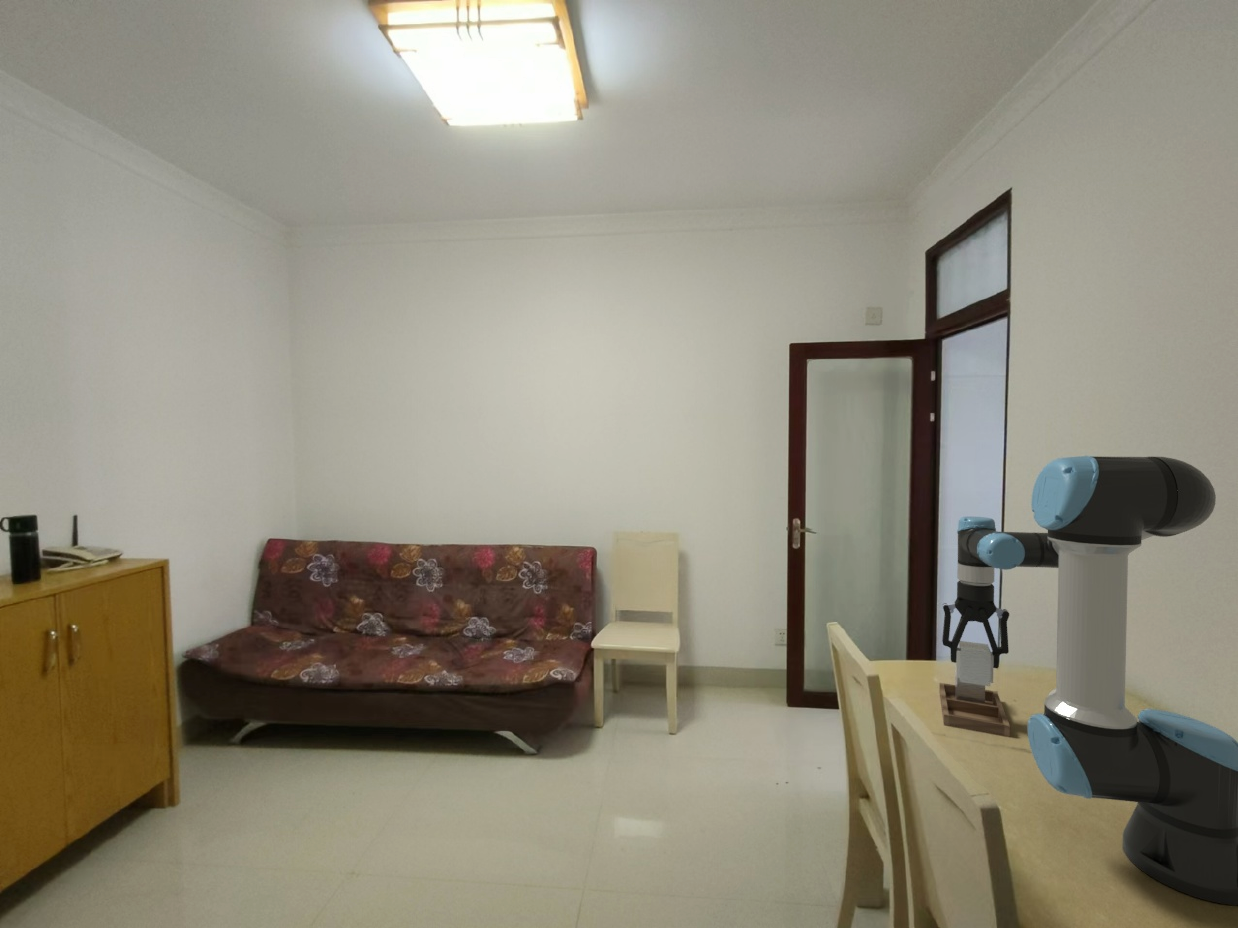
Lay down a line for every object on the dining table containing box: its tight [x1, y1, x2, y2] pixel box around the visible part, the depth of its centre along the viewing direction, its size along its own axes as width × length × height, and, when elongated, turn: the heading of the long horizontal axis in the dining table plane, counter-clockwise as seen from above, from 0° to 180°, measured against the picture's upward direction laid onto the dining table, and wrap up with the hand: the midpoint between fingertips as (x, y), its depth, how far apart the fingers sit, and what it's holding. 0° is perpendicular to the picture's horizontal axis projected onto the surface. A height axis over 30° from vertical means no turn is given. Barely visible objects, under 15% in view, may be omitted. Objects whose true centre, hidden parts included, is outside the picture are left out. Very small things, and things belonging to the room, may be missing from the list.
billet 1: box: [958, 640, 992, 687], centre depth 139 cm, size 6×6×8 cm
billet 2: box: [954, 667, 986, 704], centre depth 148 cm, size 6×6×8 cm
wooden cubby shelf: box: [938, 682, 1011, 738], centre depth 144 cm, size 21×13×4 cm, turn 154°
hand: (974, 678), depth 139 cm, fingers closed on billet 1, 6 cm apart
